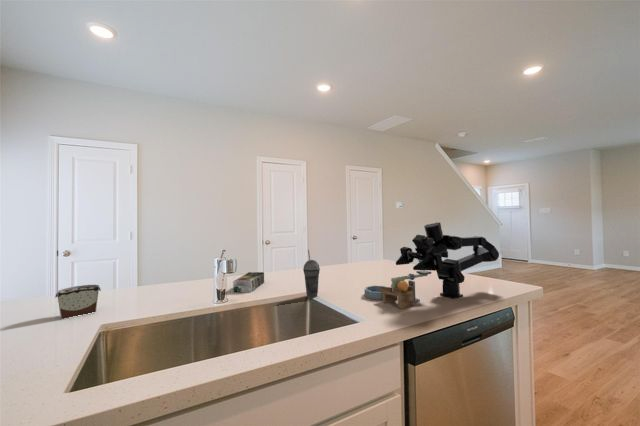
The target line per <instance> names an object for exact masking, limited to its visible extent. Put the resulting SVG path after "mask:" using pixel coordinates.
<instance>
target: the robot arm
mask: <svg viewBox="0 0 640 426" xmlns="http://www.w3.org/2000/svg"><path fill="white" fill-rule="evenodd" d="M423 228H424V231H425V234H424V235H421V234H416V236H414V237H413V239H412V240H411V241H412V243H413V244H414V246H415V248H414V250H415V251H413V249H412V248H411V247H408V246H407V247H406V246H402V247H401V248H400V249H399V251H400V256H399V258H397V260H396V262H395V265H396V266H401V265H409V264H412V263H414V260H415V259H416V260H418V263H417V264H415V265H414V266H413V267H412V270H413V271H421V270H425V271H433V272H434V271H435V272H436V275H437V278H438V280H442V292H440V293H439V295H440V296H444V297H448V298H450V299H456V298H461V297H464V294H463V293H461V291H460V290H461V289H460V288H461V287H460V284H462V283H465V279H466V278H465V275H464V274H463V273H462V271H463V272H464V271H465V270H467V269H469V268H471V267H475V266H477V265H479V264H482V263H488V262H489V263H490V262H496V261H497V260H498V259H499V257H500V254H499V250H498V249H497V248H496V247H495V245H493V244H492V243H490V242H489V241H488V240H487V238H486V237H484V236H477V235H475V236H465V237H460V236H456V235H448V234H444V233H443V229H442V225H441V222H434V223H428V224H425V225H424V226H423ZM463 247H472V250H473V253H472V254H471V253H470V254H469V255H467V256H464V257H462V258H459V259H456V260H455V259H451V258H450V259H449V258H448V257H449V250H450V251H457V250H460V249H462V248H463ZM443 258H444V260H443Z"/></svg>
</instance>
